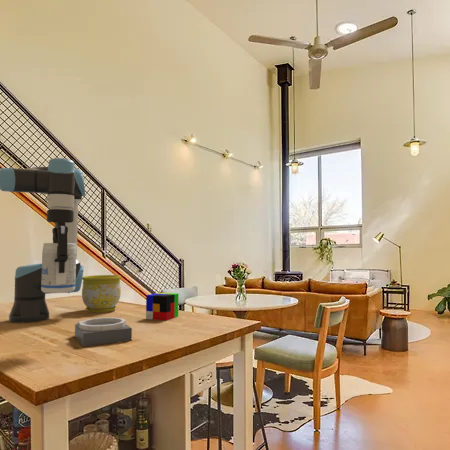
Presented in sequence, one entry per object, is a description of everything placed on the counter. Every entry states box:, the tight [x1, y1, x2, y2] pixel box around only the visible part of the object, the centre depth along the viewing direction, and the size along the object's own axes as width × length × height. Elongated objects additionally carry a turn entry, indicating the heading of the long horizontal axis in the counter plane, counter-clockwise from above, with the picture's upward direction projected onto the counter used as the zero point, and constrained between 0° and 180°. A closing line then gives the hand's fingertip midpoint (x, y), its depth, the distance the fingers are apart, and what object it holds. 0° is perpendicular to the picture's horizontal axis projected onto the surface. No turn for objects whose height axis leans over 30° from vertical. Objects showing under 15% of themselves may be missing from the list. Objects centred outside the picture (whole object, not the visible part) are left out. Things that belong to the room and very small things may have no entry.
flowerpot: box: [81, 274, 122, 314], centre depth 180 cm, size 18×18×16 cm
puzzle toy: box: [145, 292, 179, 321], centre depth 162 cm, size 10×10×10 cm
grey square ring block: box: [74, 317, 133, 348], centre depth 125 cm, size 16×15×6 cm
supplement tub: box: [41, 242, 78, 294], centre depth 114 cm, size 10×10×15 cm
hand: (58, 282), depth 114 cm, fingers closed on supplement tub, 10 cm apart
